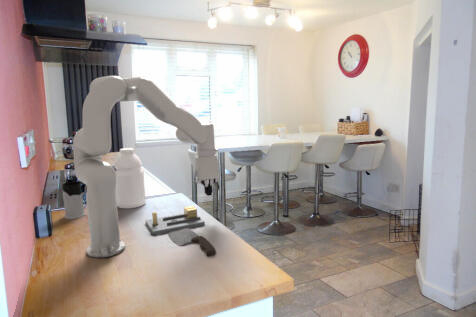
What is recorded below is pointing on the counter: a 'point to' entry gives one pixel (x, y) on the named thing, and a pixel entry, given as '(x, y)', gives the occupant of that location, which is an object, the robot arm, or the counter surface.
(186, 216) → the cardboard box
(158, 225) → the bolt plate
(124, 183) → the bottle
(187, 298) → the counter surface
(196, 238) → the cleaver
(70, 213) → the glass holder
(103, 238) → the robot arm
